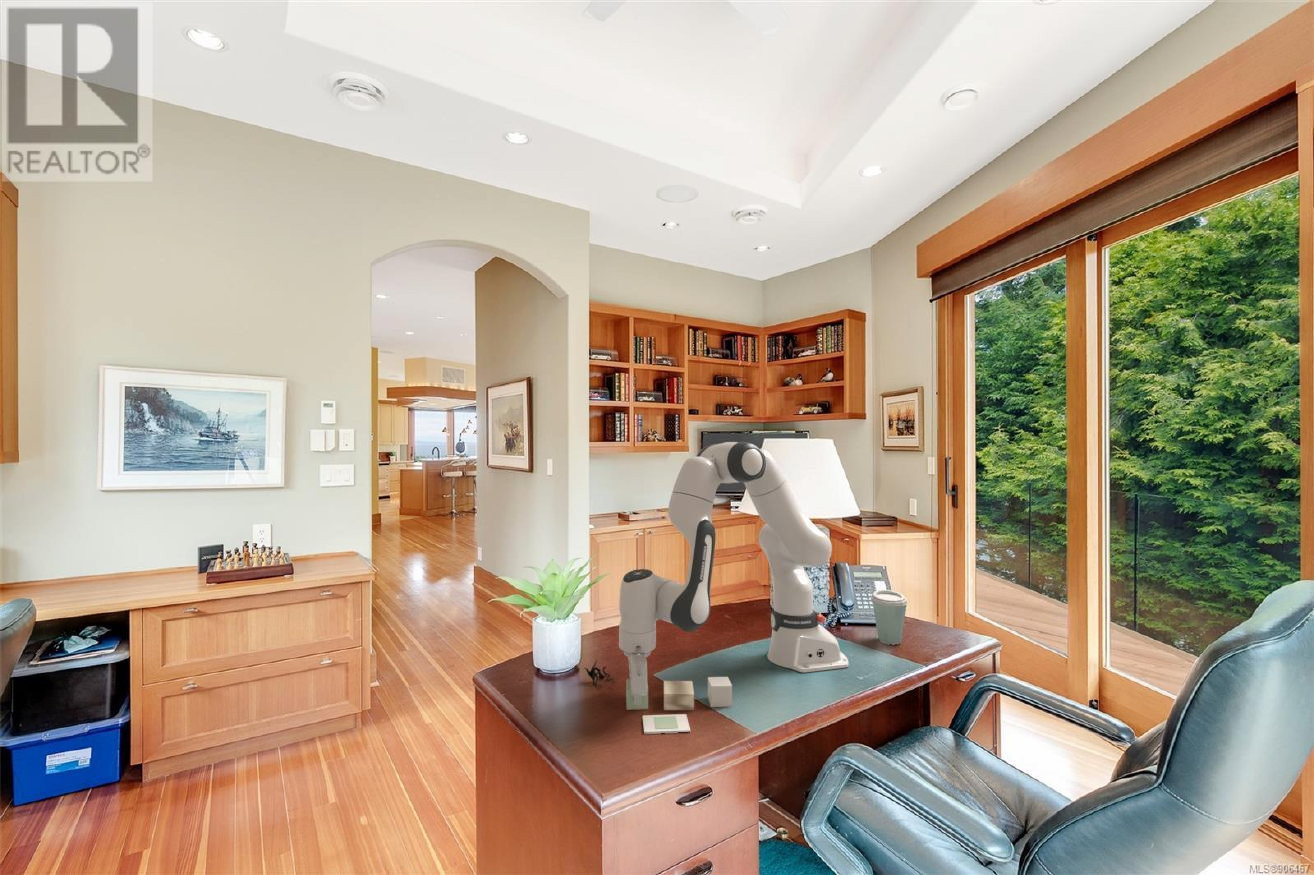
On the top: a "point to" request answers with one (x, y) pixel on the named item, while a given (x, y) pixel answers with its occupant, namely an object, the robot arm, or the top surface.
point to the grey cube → (719, 692)
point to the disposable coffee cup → (889, 615)
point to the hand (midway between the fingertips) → (637, 697)
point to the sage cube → (630, 698)
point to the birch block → (678, 695)
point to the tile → (665, 724)
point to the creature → (594, 674)
